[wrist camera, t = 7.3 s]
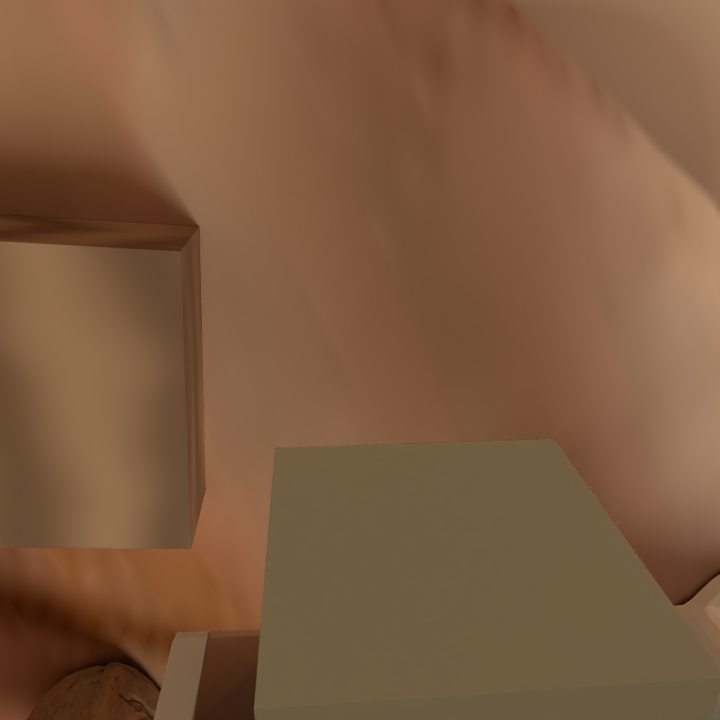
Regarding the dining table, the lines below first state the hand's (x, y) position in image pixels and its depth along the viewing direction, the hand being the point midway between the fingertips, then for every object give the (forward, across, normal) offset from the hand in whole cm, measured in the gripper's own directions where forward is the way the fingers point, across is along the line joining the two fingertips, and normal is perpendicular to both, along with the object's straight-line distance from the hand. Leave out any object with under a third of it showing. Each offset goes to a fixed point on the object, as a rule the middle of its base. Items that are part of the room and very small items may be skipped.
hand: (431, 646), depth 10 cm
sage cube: (+2, 0, 0) cm, 2 cm away
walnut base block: (+21, +14, +4) cm, 26 cm away
